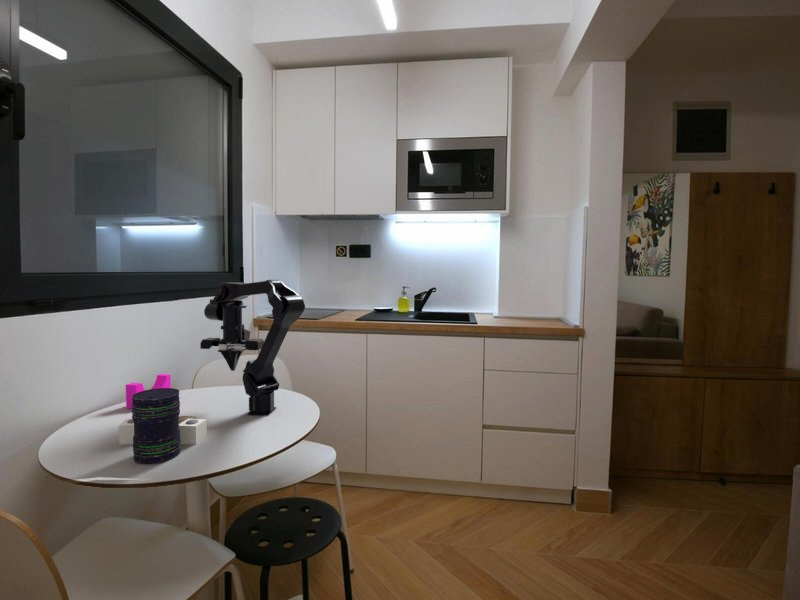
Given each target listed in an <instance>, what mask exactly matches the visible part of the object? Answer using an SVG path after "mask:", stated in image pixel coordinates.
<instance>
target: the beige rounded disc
mask: <svg viewBox="0 0 800 600" xmlns="http://www.w3.org/2000/svg"><path fill="white" fill-rule="evenodd" d="M187 419H197V417H196V416H194V415H182V416H181V415H179V424H180V423H182V422H184V421H185V420H187Z"/></svg>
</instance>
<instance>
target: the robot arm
mask: <svg viewBox="0 0 800 600" xmlns="http://www.w3.org/2000/svg"><path fill="white" fill-rule="evenodd" d="M265 294H266V296H267V300H268V303H269V305H271V307H272V309H271V310H272V311H271V313H272V318H273V320H272V323H271V326H270V328H269V330H268V332H267V335H266V337H265V340H264V339H263V338H250V337H251V331H249V330H248V329H246V328H245V324H244V323H243V309H246V308H247V305H246V304H245V303H244V302H243V301H242V300H244V299H247V298H248V297H250V296H256V295H258V296H259V295H265ZM278 295H279V296H278ZM305 308H306V305H305V301H304V299H303V298H302V296H300V295H299V294H298V293H297V292H296V291H295V290H293V289H291V288H290V287H288V286H287V285H285V283H284V282H283V281H282V280H281V279H266V280H262V281H256V282H249V283H247V282H241V281H239V282H233V281H231V282H221V283H220V284H219V287H218V288H217V292H216V293H215V294H214V297H213V298H211V299H209V303H207V305H206V306H205V308H204V310H203V312H204V313H203V314H204V316H205V318H207V319H208V320H211V321H221V322H222V325H220V330H222V338H221V337H207V338H204V339H202V340H201V341H200V342H199V344H200V345H199V347H200V350H210V349H211V348H212V347H218V349H217V352H218V353H220V354H221V355H222V357H223V358H224V360H225V362H226V363H227V366H228V367H229V369H230V371H231V372H234V371H236V368H237V366H238V362H239V360H240V358H241V356H242V354H243V352H244V351H258V350H259V353H258V355H257V357H256V359H251V360H248V361H246V364H245V368H244V369H242V372H243V374H242V383H243V388H244V391H245V395H248V396H249V397H248V411H249V412H247V415H248V416H249V415H250V416H252V415H253V416H270V415H271V414H272V413H273V412H274V411H276V409H277V407H276V406H275V391H278V390H279V387H280V383H279V381H278V380H277V378H276V377H275V375H274V374H275V368H274V362H275V360H276V358H277V356H278V354H279V351H280V349H281V346H282V345H283V343H284V340H285V338H286V336H287V334H288V331H289V329H290V327H291V326H292V325H293V324H294V323H296V322H297V321H298V320H299V319H300V318H301V316H302V315H303V313H304V311H305Z"/></svg>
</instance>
